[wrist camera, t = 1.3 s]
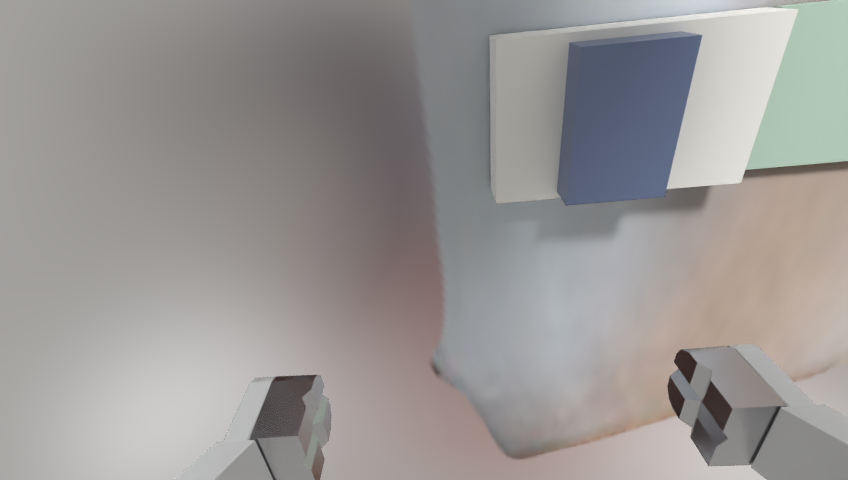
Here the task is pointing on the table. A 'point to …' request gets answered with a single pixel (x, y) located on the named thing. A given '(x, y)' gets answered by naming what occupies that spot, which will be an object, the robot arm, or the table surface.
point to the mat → (808, 92)
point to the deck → (704, 113)
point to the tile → (623, 115)
